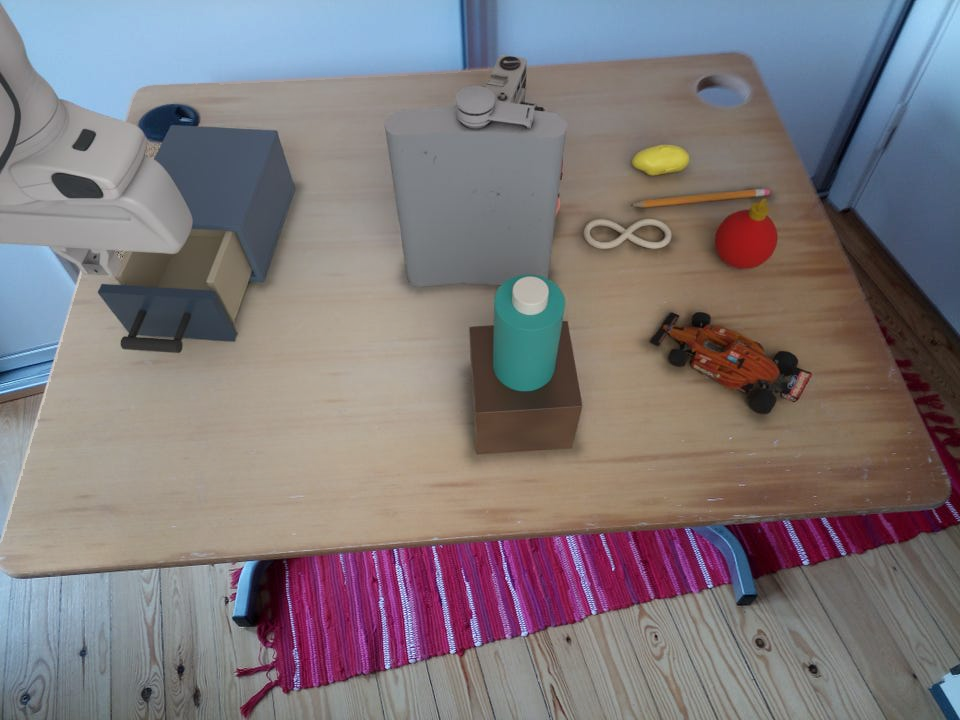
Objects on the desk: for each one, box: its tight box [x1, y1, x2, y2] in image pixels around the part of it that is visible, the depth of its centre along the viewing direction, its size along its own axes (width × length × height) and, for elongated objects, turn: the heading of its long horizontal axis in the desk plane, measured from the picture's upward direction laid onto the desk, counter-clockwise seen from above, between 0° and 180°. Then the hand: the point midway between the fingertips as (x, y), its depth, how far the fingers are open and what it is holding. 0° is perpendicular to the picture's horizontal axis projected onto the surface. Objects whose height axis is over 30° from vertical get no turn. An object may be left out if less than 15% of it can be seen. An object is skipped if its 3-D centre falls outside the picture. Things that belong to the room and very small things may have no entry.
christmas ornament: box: [714, 197, 779, 270], centre depth 80 cm, size 7×7×10 cm
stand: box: [468, 320, 584, 455], centre depth 69 cm, size 10×10×9 cm
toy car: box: [649, 311, 813, 415], centre depth 74 cm, size 8×16×4 cm, turn 54°
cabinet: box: [153, 124, 296, 283], centre depth 83 cm, size 17×14×10 cm
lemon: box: [631, 144, 691, 176], centre depth 91 cm, size 4×8×4 cm, turn 92°
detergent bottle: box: [493, 274, 566, 391], centre depth 60 cm, size 6×6×12 cm
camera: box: [484, 54, 546, 112], centre depth 92 cm, size 14×9×10 cm, turn 156°
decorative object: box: [582, 218, 672, 250], centre depth 86 cm, size 11×1×5 cm
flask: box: [383, 85, 567, 288], centre depth 72 cm, size 17×5×25 cm, turn 88°
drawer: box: [97, 229, 253, 354], centre depth 76 cm, size 20×12×8 cm, turn 175°
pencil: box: [629, 188, 771, 209], centre depth 89 cm, size 1×1×19 cm
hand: (104, 270), depth 62 cm, fingers closed
